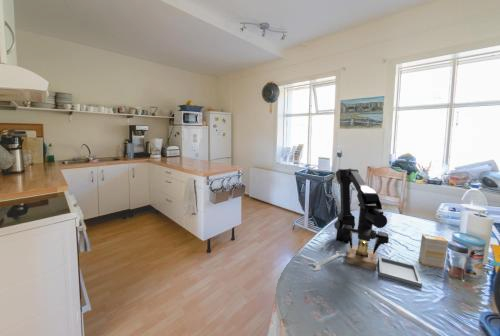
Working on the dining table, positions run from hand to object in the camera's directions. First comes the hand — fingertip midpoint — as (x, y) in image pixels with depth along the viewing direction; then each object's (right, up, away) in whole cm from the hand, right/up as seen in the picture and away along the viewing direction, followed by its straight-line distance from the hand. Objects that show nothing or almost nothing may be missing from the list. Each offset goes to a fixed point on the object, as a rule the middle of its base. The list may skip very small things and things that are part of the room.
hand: (362, 250), depth 102 cm
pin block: (0, -5, +1) cm, 5 cm away
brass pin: (0, -5, +1) cm, 5 cm away
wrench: (-16, -5, 0) cm, 17 cm away
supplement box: (+31, -6, -1) cm, 31 cm away
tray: (+11, -6, -9) cm, 15 cm away
